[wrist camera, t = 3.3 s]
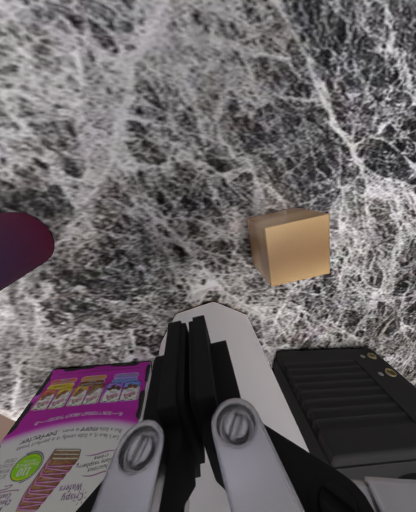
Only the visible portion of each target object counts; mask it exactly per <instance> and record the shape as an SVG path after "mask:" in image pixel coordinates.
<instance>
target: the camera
mask: <svg viewBox="0 0 416 512" xmlns="http://www.w3.org/2000/svg"><path fill="white" fill-rule="evenodd" d="M273 373H274V376H275V378H276V380H277V382H278V384H279V387H280V389H281V391H282V393H283V395H284V397H285V400H286V402H287V404H288V406H289V408H290V411H291V413H292V415H293V417H294V419H295V422H296V424H297V426H298V428H299V430H300V433H301V435H302V437H303V439H304V441H305V444H306V446H307V448H308V450H309V452H310V453H311V454H312V455H314V456H315V457H317V458H318V459H320V460H322V461H323V462H325V463H326V464H328V465H330V466H331V467H333V468H334V469H336V470H337V471H339V472H341V473H342V474H344V475H345V476H346V477H348V478H349V479H352V480H365V476H366V477H382V478H397V479H412V480H416V388H415V387H414V386H413V385H412V384H411V383H410V382H409V381H407V380H406V379H405V378H404V377H403V376H402V375H401V374H399V373H398V372H397V371H396V370H395V369H394V368H392V367H391V366H390V365H389V364H388V363H387V362H386V361H384V360H383V359H382V358H381V357H380V356H379V355H378V354H376V353H375V352H374V351H373V350H371V349H368V348H366V349H329V350H306V351H283V352H278V353H277V357H276V359H275V362H274V371H273Z"/></svg>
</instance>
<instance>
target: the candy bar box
mask: <svg viewBox="0 0 416 512" xmlns="http://www.w3.org/2000/svg"><path fill="white" fill-rule="evenodd" d="M151 375H152V373H151V363H150V362H136V363H125V364H114V365H103V366H92V367H82V368H70V369H58V370H53V371H52V372H51V374H50V375H49V377H48V378H47V379H46V380H45V382H44V383H43V385H42V386H41V387H40V389H39V390H38V392H37V393H36V395H35V396H34V397H33V399H32V400H31V401H30V403H29V404H28V406H27V407H26V408H25V410H24V411H23V413H22V414H21V415H20V417H19V418H18V420H17V421H16V422H15V424H14V425H13V427H12V428H11V429H10V431H9V432H8V434H7V435H6V436H5V437H4V439H3V440H2V442H1V443H0V512H76V511H77V509H78V508H79V507H80V506H81V505H82V504H83V503H84V501H85V500H86V499H87V498H88V497H89V496H90V494H91V493H92V492H93V491H94V490H95V489H96V488H97V486H98V485H99V484H100V483H101V482H102V481H103V479H104V477H105V475H106V472H107V470H108V467H109V464H110V462H111V459H112V457H113V454H114V452H115V449H116V447H117V445H118V443H119V441H120V439H121V438H122V437H123V435H124V434H125V433H126V431H128V430H129V429H130V428H131V427H132V426H133V425H135V424H137V423H138V422H140V421H142V420H143V415H144V410H145V405H146V400H147V395H148V390H149V385H150V380H151Z"/></svg>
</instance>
